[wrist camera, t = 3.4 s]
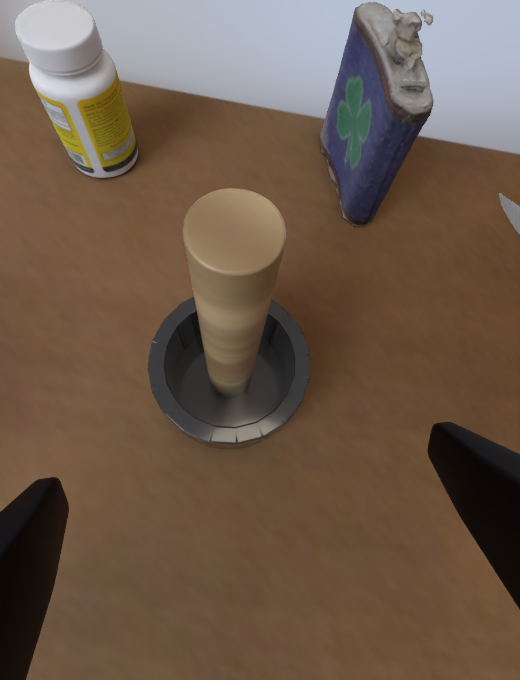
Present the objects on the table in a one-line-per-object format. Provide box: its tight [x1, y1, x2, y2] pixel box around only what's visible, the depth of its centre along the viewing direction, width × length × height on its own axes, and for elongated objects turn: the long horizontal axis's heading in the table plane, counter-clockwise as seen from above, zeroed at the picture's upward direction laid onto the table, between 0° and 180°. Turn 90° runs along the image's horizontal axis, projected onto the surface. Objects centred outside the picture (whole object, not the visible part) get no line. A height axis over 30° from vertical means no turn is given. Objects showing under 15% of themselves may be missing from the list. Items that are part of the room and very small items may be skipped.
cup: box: [148, 297, 310, 449], centre depth 20 cm, size 8×8×4 cm
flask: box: [320, 2, 433, 227], centre depth 23 cm, size 9×3×11 cm, turn 11°
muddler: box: [183, 188, 287, 398], centre depth 15 cm, size 2×2×14 cm
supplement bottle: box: [15, 0, 138, 178], centre depth 23 cm, size 5×5×8 cm
